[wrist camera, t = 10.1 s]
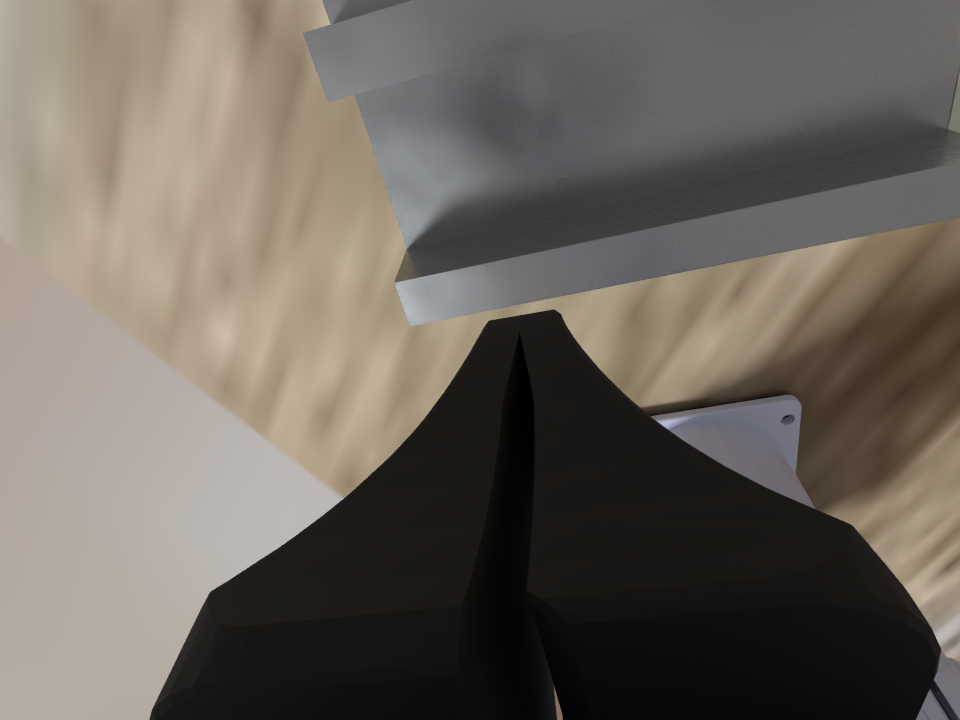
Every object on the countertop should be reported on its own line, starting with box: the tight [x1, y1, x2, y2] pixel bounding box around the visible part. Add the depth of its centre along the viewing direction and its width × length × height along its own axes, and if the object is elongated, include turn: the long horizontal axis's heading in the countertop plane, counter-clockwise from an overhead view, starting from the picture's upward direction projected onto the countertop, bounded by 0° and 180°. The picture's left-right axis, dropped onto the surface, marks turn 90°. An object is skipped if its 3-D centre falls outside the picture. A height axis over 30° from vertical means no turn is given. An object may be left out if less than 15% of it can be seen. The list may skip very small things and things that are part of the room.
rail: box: [303, 0, 960, 326], centre depth 15 cm, size 10×16×4 cm, turn 104°
